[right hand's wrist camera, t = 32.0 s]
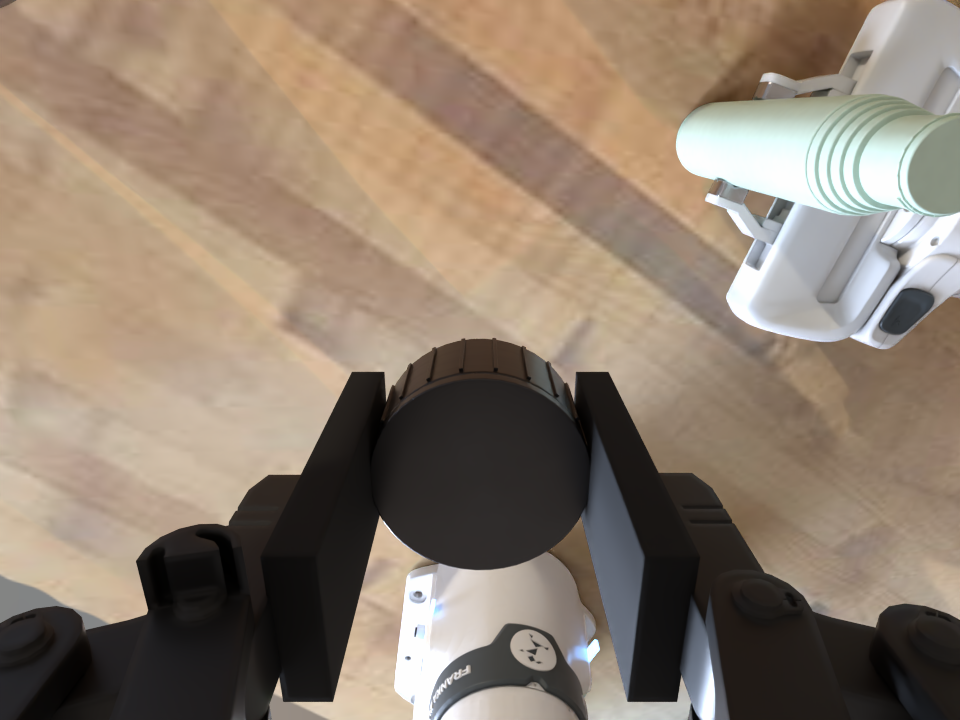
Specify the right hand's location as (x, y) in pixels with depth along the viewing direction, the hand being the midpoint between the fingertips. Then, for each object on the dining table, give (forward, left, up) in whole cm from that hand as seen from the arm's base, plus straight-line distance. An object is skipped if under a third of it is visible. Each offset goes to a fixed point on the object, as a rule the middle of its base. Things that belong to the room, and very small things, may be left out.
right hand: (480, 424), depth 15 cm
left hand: (+16, -5, -27) cm, 31 cm away
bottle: (+16, -6, -33) cm, 37 cm away
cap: (0, 0, +2) cm, 2 cm away
